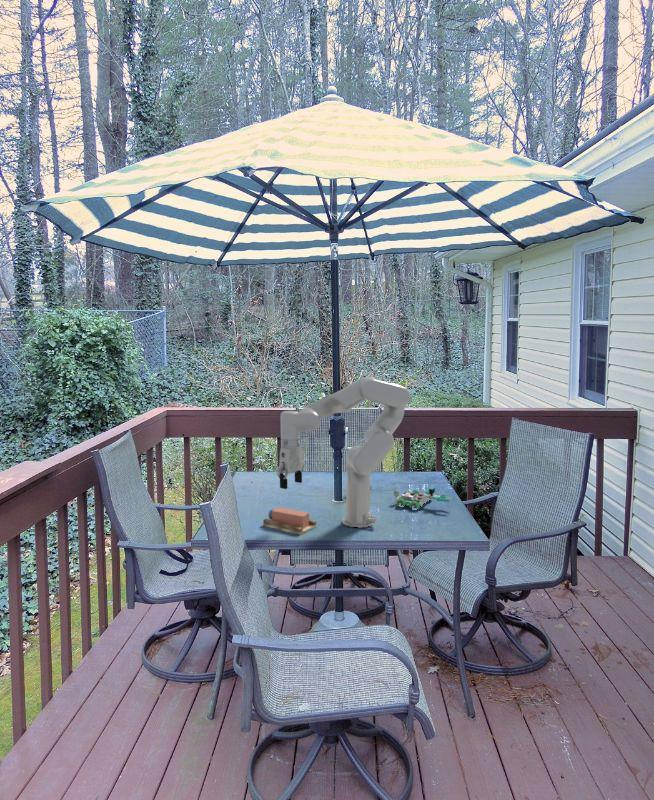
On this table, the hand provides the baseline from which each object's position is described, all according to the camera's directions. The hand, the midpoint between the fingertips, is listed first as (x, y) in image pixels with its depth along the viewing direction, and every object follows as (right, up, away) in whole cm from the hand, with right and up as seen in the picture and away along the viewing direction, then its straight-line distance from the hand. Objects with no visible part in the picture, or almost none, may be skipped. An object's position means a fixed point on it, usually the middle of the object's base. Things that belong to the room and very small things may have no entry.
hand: (291, 485), depth 235 cm
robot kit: (+57, -14, +31) cm, 67 cm away
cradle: (-1, -17, +2) cm, 17 cm away
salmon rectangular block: (0, -16, +2) cm, 16 cm away
